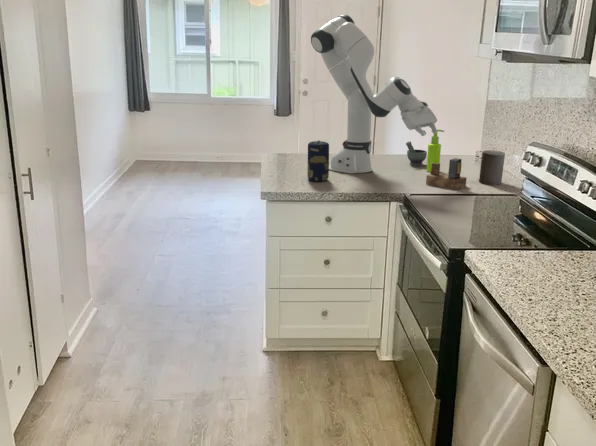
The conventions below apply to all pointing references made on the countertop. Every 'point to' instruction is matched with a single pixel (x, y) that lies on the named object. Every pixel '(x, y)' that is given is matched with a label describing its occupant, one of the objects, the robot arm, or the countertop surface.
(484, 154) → the pillar candle
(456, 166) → the lever cap
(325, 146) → the canister
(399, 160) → the countertop surface
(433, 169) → the hand plane
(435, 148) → the soap dispenser
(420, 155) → the mortar and pestle
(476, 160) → the countertop surface
